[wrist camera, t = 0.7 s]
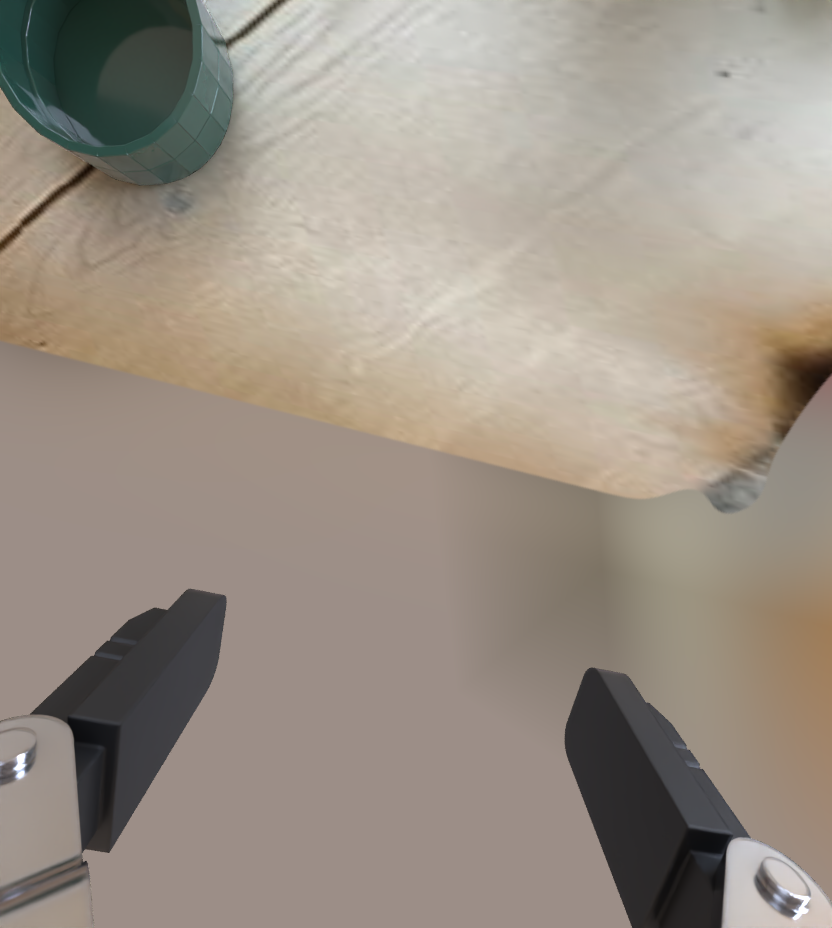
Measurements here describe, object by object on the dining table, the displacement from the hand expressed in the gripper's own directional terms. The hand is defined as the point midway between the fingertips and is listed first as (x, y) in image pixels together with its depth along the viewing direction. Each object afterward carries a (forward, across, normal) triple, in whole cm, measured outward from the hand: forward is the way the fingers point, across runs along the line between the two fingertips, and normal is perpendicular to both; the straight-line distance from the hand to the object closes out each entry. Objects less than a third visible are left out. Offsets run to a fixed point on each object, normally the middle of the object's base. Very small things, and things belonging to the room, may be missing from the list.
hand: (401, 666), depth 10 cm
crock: (+30, +24, -20) cm, 43 cm away
